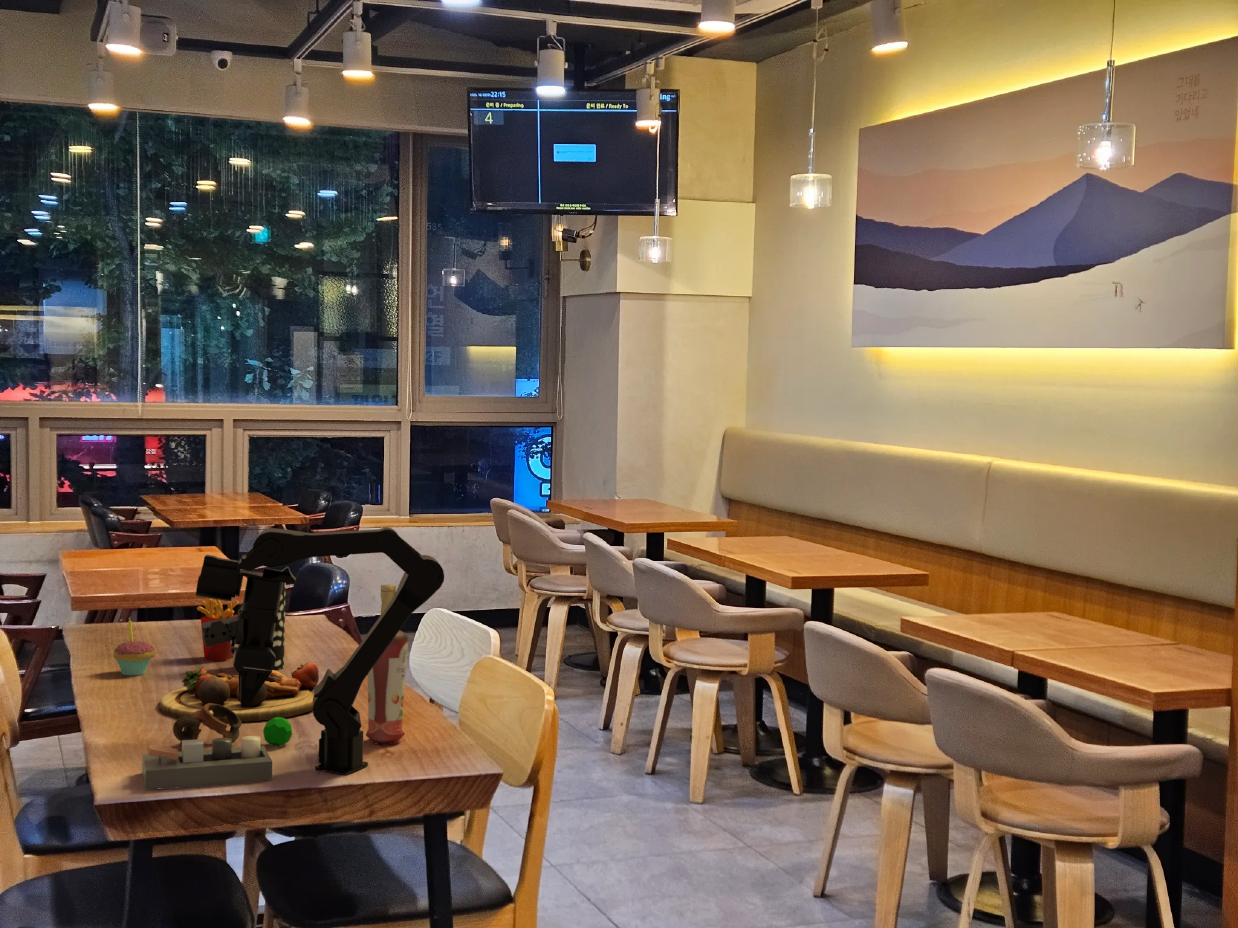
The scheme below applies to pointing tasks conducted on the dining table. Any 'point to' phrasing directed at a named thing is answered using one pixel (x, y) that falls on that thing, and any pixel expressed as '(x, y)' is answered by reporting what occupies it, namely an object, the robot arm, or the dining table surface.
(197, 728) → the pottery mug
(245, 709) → the wooden plate with food
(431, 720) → the dining table surface
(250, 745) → the white cylinder
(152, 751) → the terracotta rocker
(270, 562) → the robot arm
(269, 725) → the polyhedron
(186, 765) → the panel
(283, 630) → the spotted tube
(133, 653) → the cupcake
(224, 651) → the french fries
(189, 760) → the grey square button
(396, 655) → the liquor
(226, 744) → the black round button
